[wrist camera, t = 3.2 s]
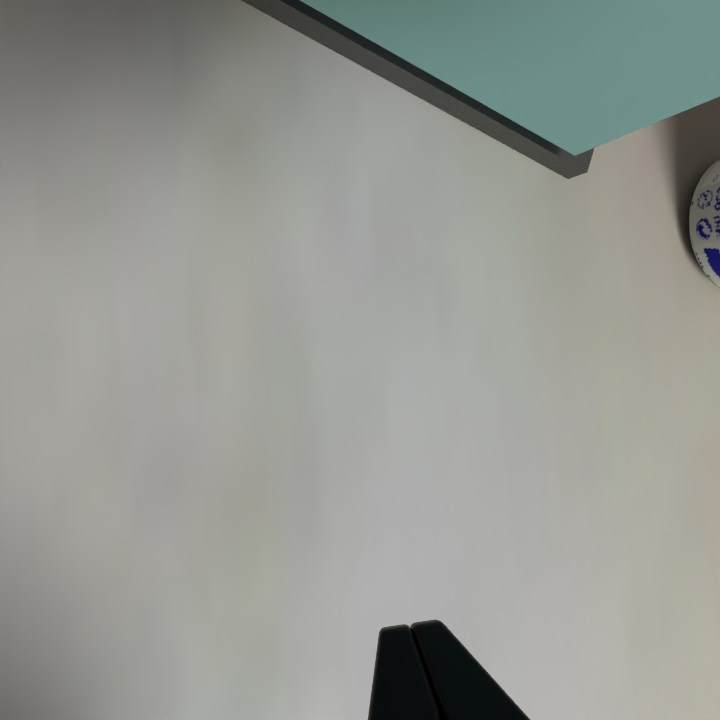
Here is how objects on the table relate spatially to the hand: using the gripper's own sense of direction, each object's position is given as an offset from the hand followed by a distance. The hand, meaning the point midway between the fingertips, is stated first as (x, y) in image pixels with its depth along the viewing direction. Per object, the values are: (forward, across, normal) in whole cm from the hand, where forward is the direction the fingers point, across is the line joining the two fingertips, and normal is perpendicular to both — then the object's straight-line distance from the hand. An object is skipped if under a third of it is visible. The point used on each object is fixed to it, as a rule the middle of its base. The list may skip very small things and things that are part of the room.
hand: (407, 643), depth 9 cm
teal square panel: (+16, -3, -6) cm, 17 cm away
